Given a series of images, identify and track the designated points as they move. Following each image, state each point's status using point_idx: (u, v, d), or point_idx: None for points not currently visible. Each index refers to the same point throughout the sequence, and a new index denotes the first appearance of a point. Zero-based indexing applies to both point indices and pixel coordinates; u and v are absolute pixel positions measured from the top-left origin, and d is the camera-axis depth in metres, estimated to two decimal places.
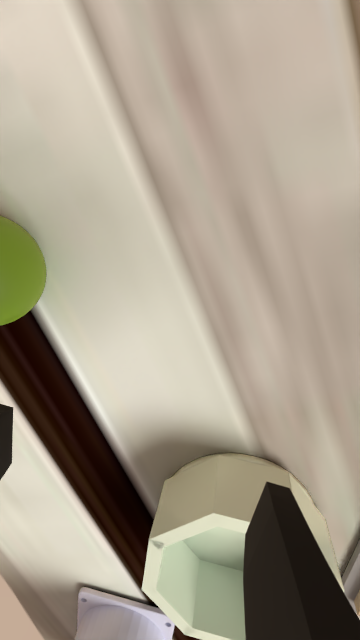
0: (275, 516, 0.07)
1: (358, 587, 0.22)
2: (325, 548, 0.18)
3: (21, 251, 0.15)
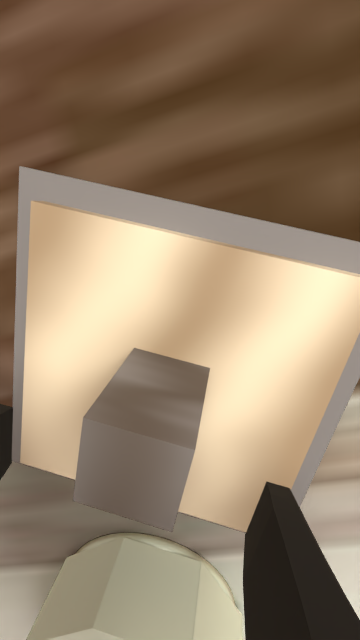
0: (275, 516, 0.07)
1: None
2: (85, 597, 0.15)
3: None
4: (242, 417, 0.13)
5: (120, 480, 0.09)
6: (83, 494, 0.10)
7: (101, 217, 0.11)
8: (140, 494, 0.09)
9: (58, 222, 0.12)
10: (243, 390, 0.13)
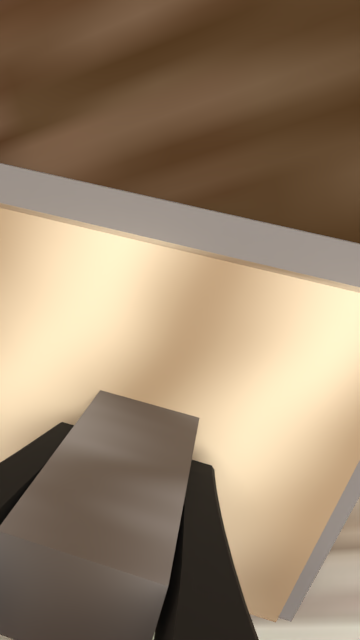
0: None
1: None
2: None
3: None
4: (242, 479, 0.10)
5: (60, 614, 0.06)
6: (9, 626, 0.07)
7: (49, 219, 0.08)
8: (90, 634, 0.06)
9: None
10: (243, 446, 0.10)
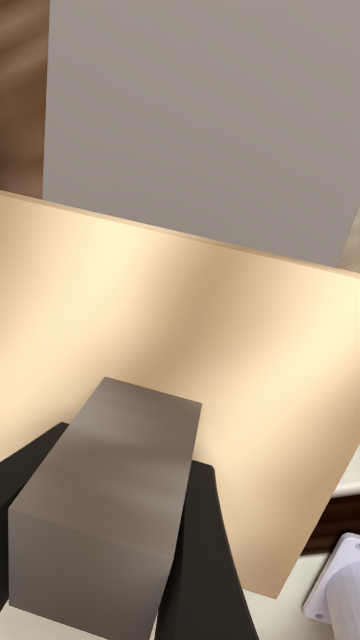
0: None
1: None
2: None
3: None
4: (244, 463, 0.10)
5: (69, 588, 0.06)
6: (22, 599, 0.07)
7: (53, 207, 0.08)
8: (98, 606, 0.06)
9: None
10: (245, 431, 0.10)
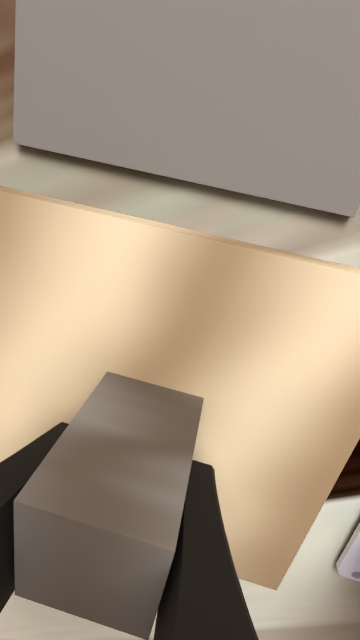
0: None
1: (299, 179, 0.13)
2: None
3: None
4: (245, 457, 0.10)
5: (73, 578, 0.07)
6: (27, 589, 0.07)
7: (55, 203, 0.08)
8: (102, 595, 0.07)
9: None
10: (246, 425, 0.10)
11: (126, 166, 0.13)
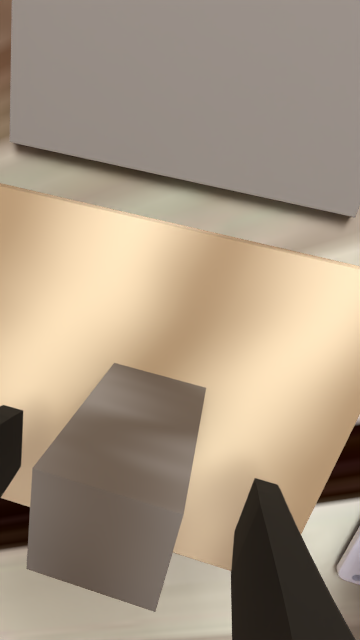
0: (261, 512, 0.07)
1: (299, 179, 0.12)
2: None
3: None
4: (245, 446, 0.11)
5: (85, 547, 0.07)
6: (40, 562, 0.07)
7: (70, 202, 0.09)
8: (112, 565, 0.07)
9: (17, 209, 0.09)
10: (246, 414, 0.10)
11: (124, 165, 0.13)
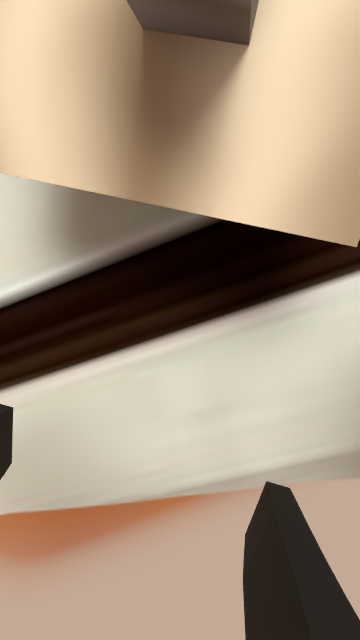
0: (275, 516, 0.07)
1: None
2: None
3: None
4: None
5: None
6: None
7: None
8: None
9: None
10: None
11: None
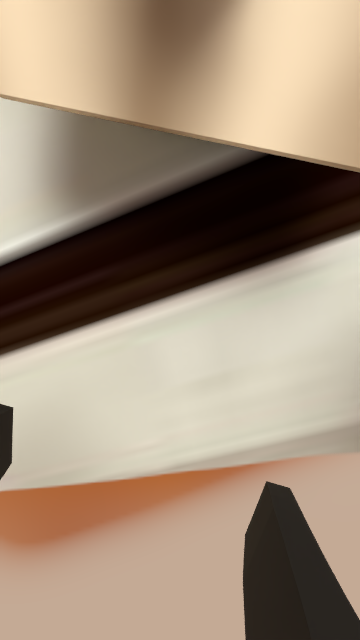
0: (275, 516, 0.07)
1: None
2: None
3: None
4: None
5: None
6: None
7: None
8: None
9: None
10: None
11: None
